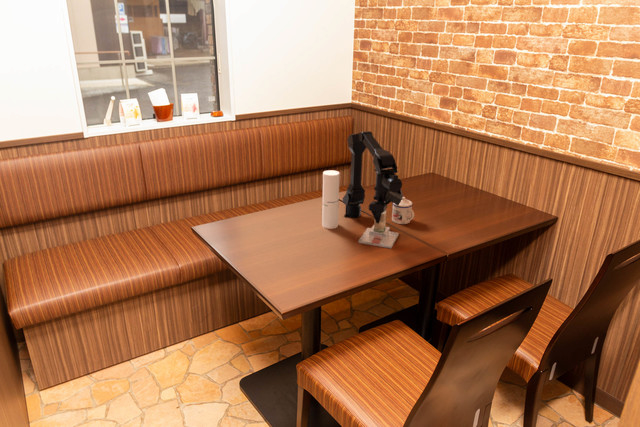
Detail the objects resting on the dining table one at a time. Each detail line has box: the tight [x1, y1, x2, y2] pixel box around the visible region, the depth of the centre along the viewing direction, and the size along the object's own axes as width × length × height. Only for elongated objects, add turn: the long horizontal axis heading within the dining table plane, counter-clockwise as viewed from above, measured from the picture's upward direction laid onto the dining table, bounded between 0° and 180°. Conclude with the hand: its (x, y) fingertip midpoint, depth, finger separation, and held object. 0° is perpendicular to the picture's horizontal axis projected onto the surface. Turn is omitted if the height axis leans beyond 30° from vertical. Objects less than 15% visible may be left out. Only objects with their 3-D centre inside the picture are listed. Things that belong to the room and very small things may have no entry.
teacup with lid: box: [391, 196, 415, 225], centre depth 213 cm, size 12×9×12 cm
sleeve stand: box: [358, 224, 399, 249], centre depth 197 cm, size 14×14×4 cm
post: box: [373, 210, 388, 232], centre depth 195 cm, size 4×4×8 cm
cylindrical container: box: [321, 169, 341, 230], centre depth 205 cm, size 7×7×25 cm
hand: (380, 219), depth 194 cm, fingers open, 8 cm apart
